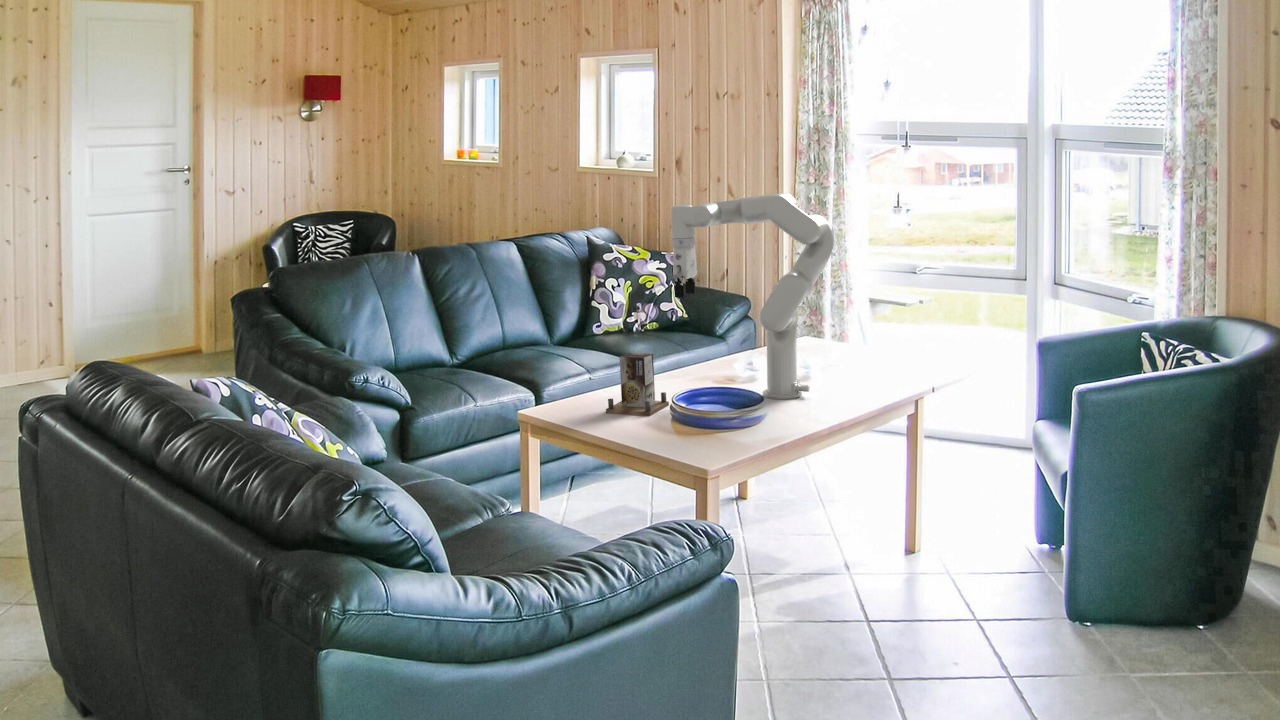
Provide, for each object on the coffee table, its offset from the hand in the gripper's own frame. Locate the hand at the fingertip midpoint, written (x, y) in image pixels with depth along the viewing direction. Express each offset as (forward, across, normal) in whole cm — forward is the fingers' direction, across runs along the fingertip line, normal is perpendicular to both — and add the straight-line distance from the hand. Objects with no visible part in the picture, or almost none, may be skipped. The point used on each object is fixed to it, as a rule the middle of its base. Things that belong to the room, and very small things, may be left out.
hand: (685, 295), depth 396 cm
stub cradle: (+32, -28, +6) cm, 43 cm away
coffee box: (+31, -28, +6) cm, 42 cm away
